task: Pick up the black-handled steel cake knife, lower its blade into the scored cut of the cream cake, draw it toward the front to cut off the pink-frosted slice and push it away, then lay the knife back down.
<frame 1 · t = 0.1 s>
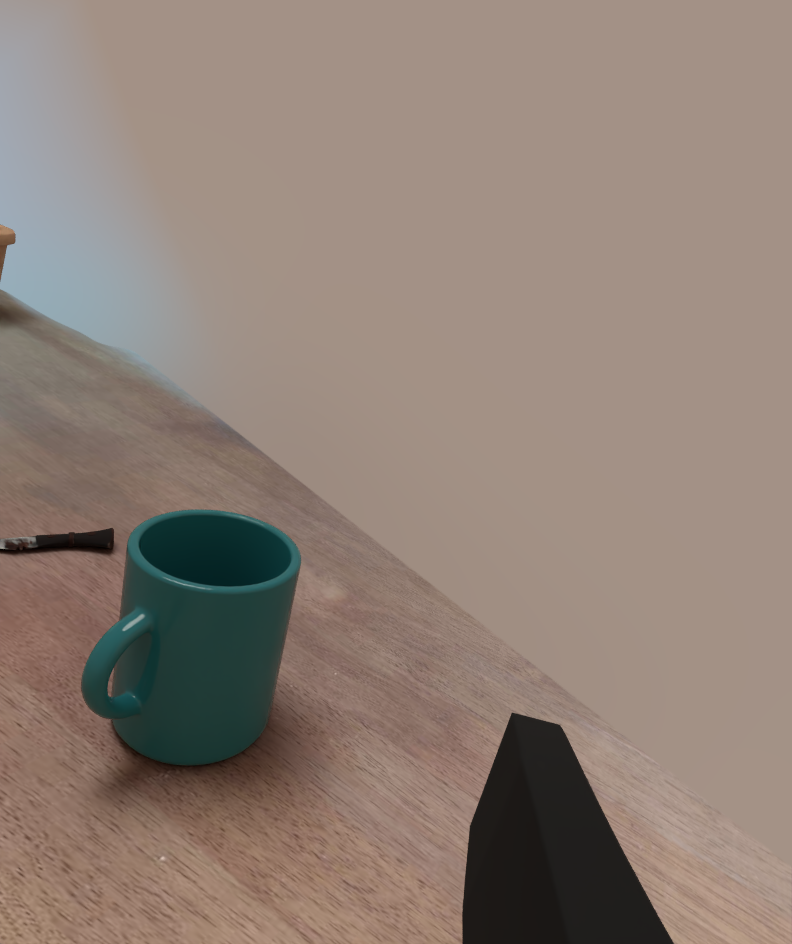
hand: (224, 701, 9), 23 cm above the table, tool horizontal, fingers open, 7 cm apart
cup: (171, 728, 39), on the table
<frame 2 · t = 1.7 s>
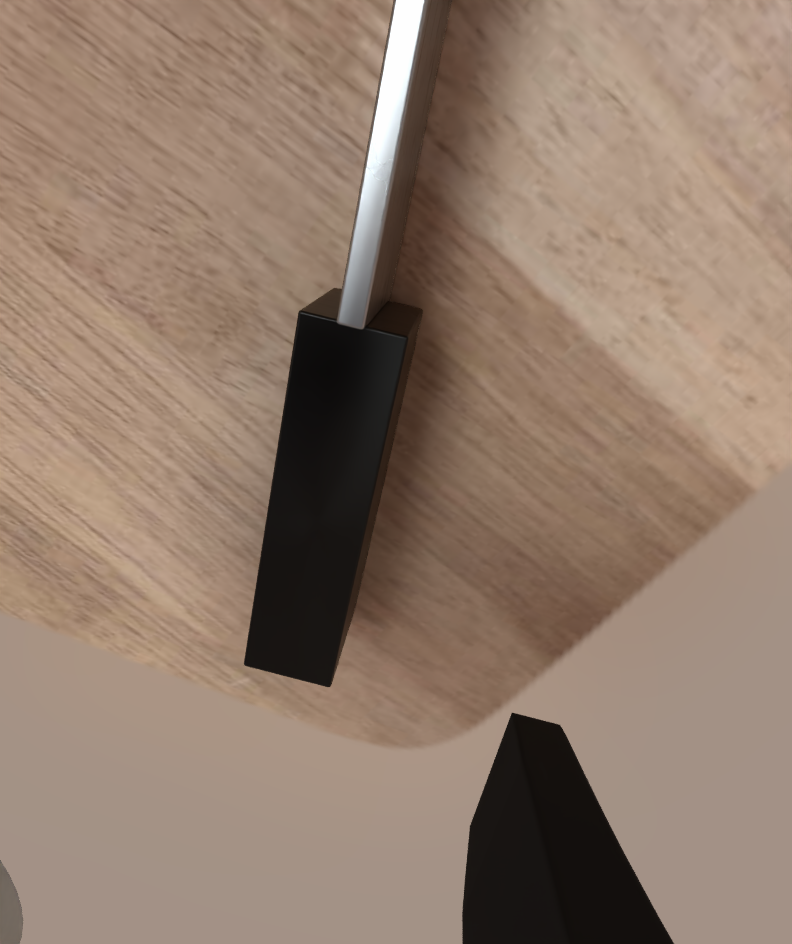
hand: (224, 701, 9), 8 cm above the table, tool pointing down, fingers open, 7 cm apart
cake knife: (344, 464, 16), on the table
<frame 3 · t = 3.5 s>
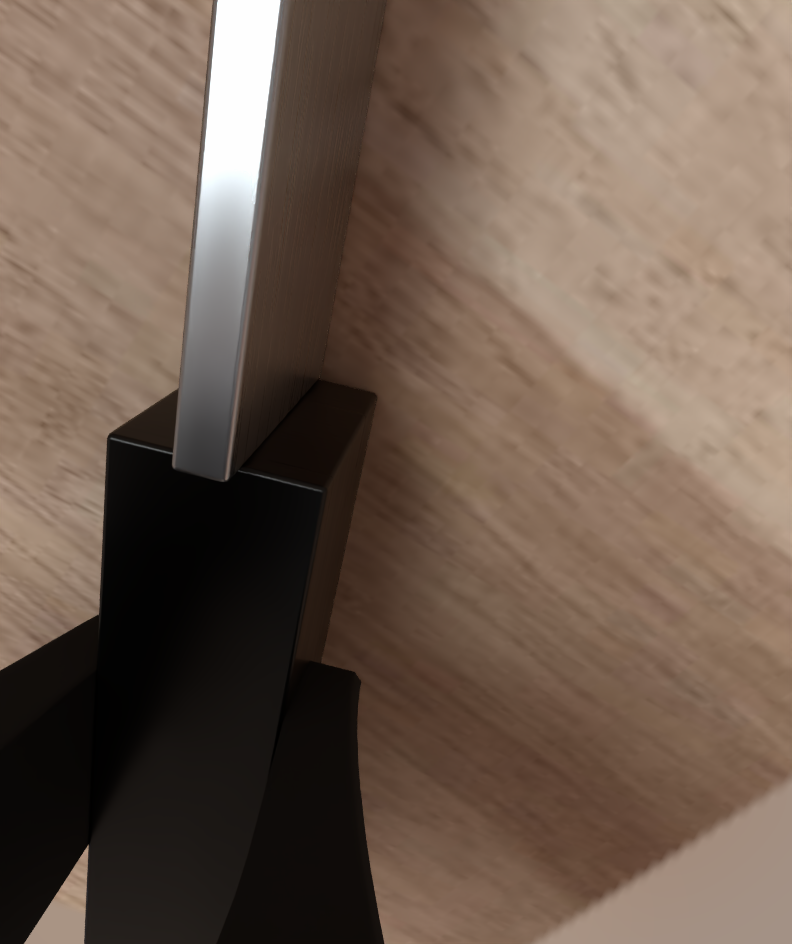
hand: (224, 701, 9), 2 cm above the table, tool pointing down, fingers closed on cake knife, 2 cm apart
cake knife: (260, 627, 10), on the table, touching gripper
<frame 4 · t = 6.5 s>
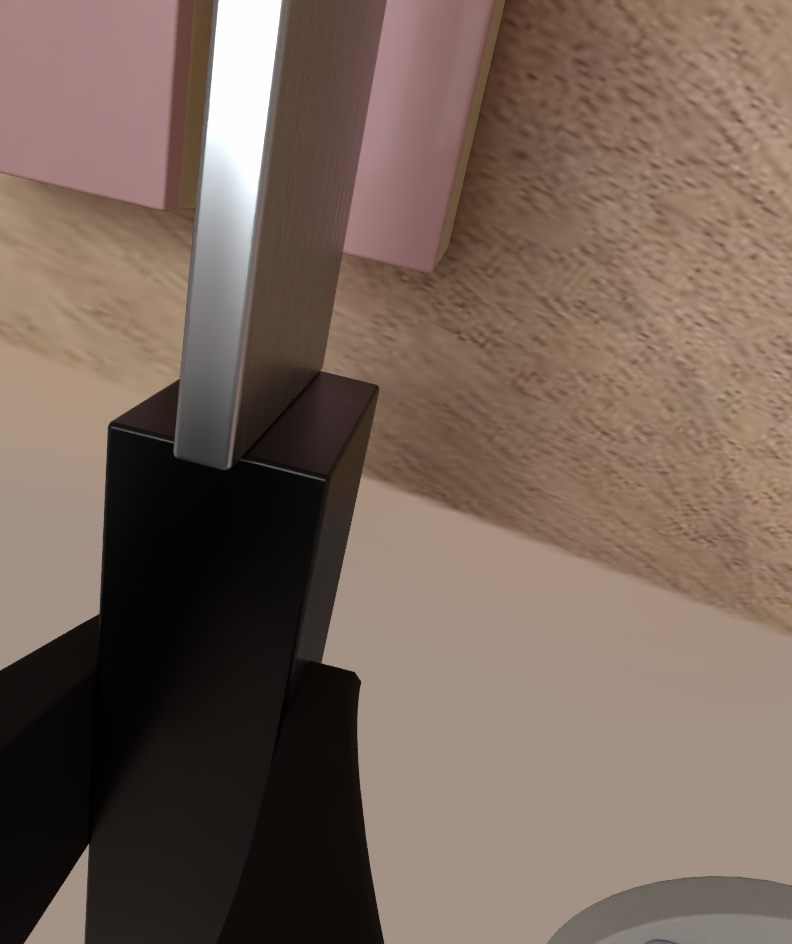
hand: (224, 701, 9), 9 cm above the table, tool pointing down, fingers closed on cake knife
cake knife: (261, 621, 10), point 8 cm above the table, touching gripper
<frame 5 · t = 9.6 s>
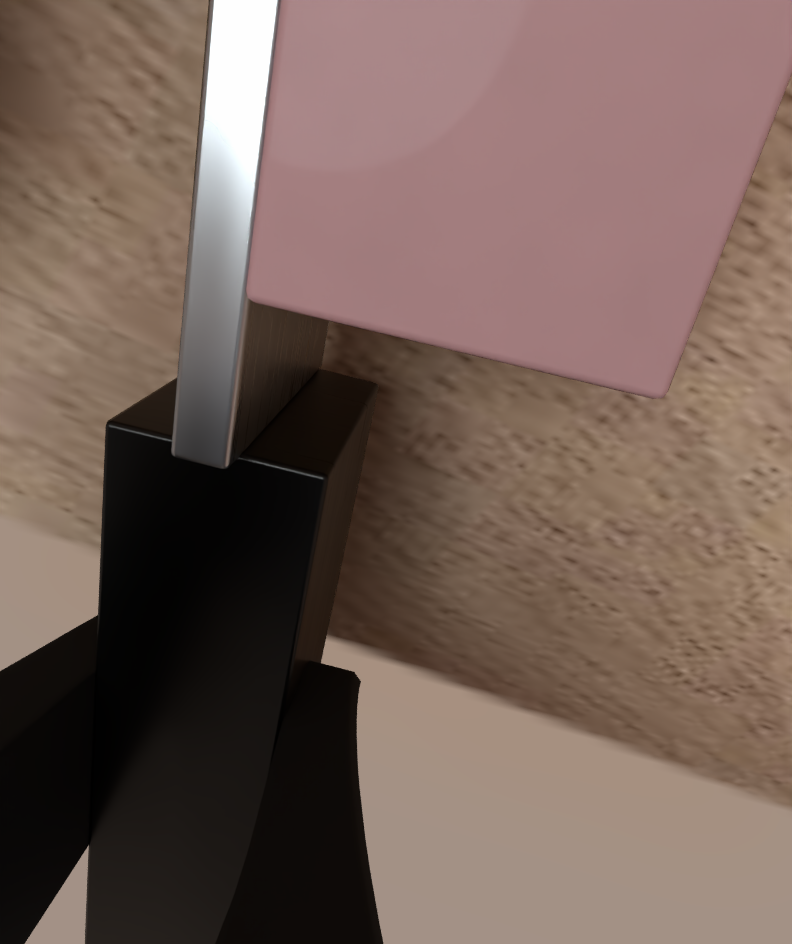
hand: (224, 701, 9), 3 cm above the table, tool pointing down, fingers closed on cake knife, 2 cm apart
cake knife: (261, 620, 10), point 1 cm above the table, touching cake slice, gripper
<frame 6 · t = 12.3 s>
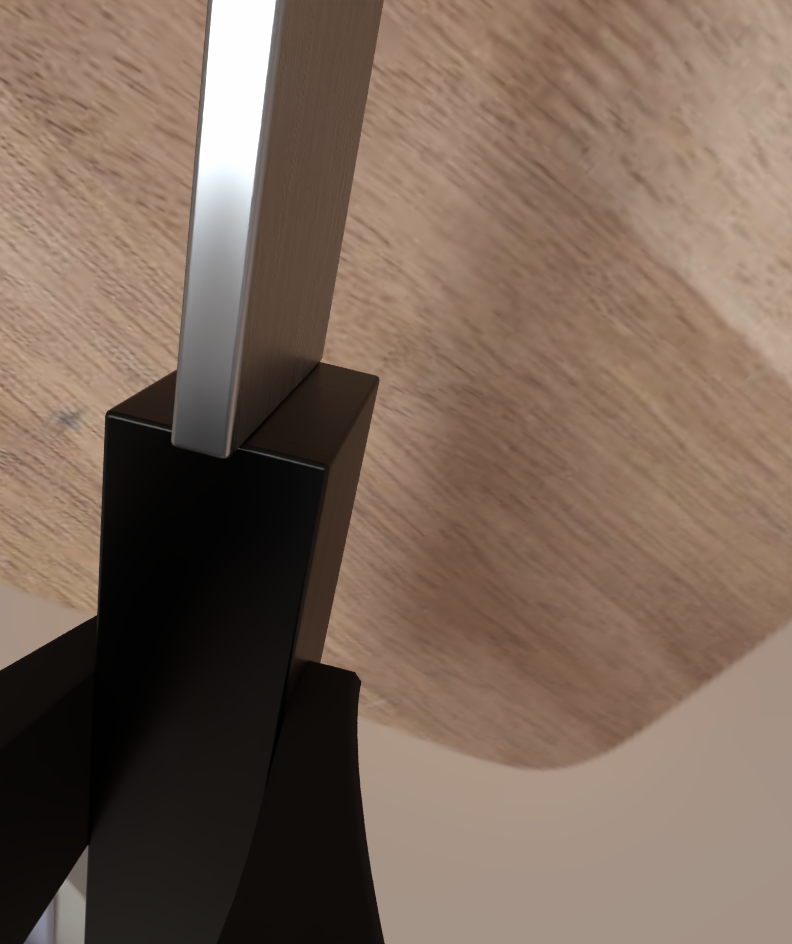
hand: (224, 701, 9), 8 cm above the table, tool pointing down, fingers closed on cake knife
cake knife: (261, 615, 10), point 7 cm above the table, touching gripper
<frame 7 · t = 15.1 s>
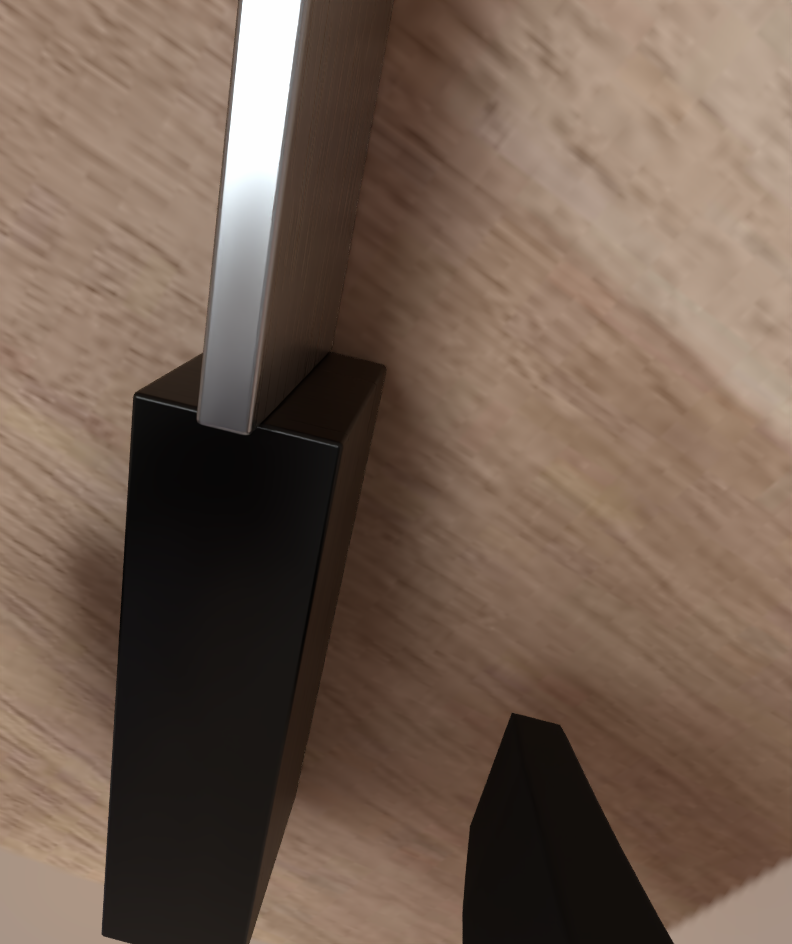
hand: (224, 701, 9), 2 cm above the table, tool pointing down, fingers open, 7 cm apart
cake knife: (272, 597, 11), on the table
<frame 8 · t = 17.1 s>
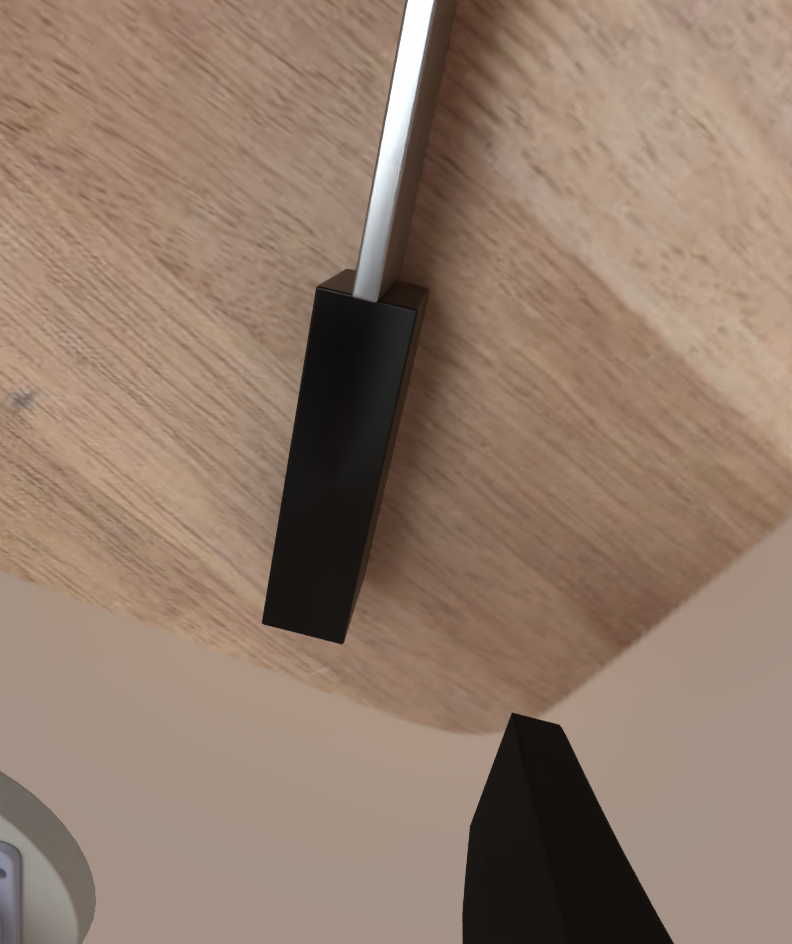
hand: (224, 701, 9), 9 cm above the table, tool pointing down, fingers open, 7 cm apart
cake knife: (355, 437, 17), on the table
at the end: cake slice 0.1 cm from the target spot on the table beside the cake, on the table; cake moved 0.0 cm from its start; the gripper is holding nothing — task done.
